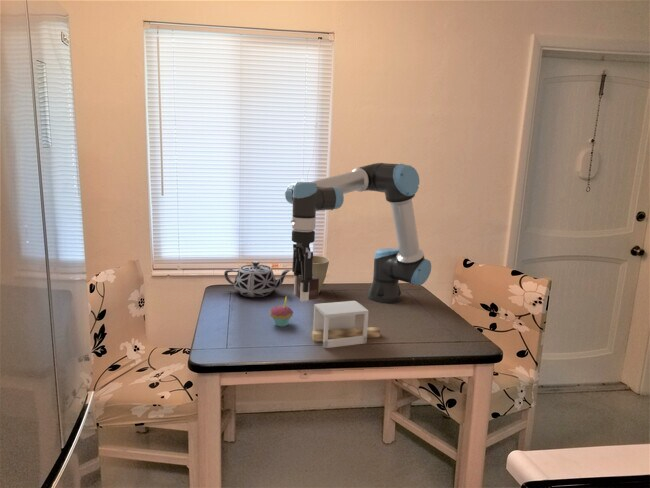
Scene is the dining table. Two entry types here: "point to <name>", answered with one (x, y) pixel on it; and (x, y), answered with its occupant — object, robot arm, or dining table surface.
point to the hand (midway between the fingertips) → (301, 297)
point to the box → (312, 287)
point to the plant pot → (320, 268)
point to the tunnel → (339, 321)
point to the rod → (345, 333)
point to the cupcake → (281, 314)
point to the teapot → (255, 280)
